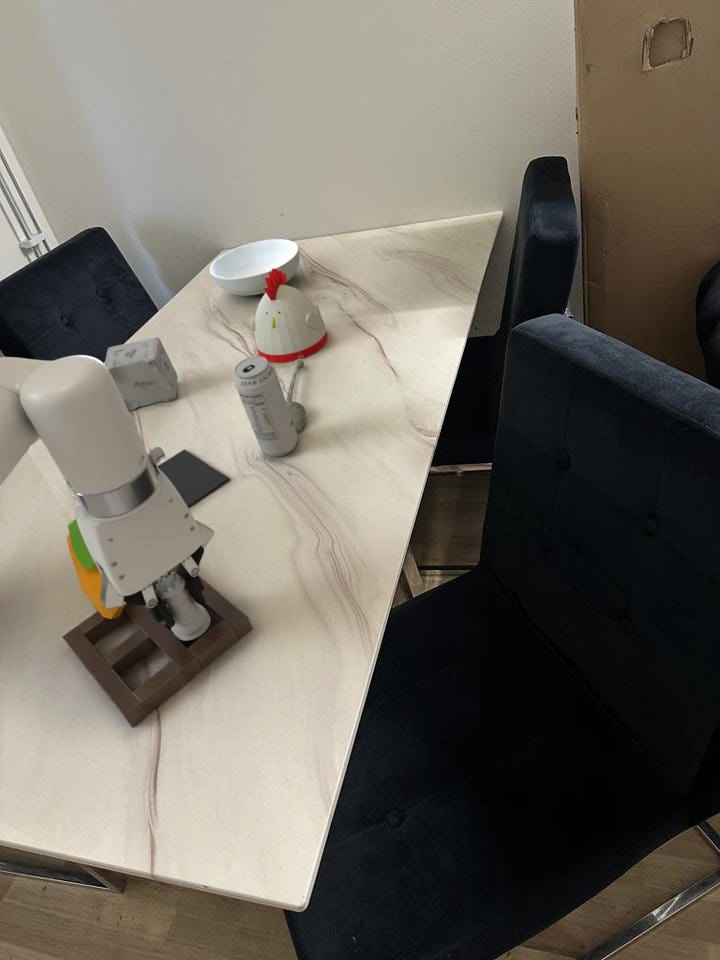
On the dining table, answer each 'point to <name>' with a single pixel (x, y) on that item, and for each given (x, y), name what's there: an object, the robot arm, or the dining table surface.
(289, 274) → the serving bowl
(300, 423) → the soupspoon
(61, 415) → the robot arm
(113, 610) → the corn
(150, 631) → the window frame
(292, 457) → the dining table surface
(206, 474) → the coaster
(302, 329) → the kitchen timer
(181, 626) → the rook chess piece
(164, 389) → the grey block
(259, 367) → the energy drink can
